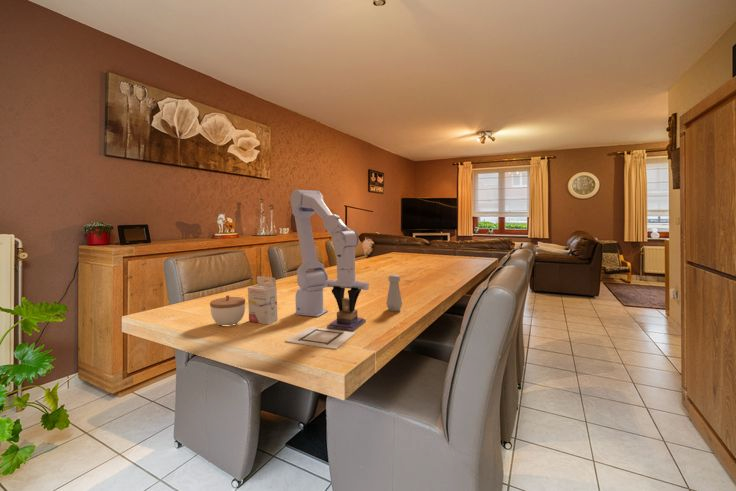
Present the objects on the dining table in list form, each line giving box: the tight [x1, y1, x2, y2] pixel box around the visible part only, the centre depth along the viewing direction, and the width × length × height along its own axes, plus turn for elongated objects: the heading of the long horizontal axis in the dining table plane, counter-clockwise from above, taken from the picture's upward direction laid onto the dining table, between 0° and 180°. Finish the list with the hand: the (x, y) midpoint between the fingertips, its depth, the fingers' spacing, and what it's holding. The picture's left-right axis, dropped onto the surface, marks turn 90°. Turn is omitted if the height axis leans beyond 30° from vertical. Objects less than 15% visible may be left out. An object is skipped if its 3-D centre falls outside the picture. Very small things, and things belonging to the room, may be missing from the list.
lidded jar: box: [209, 295, 246, 326], centre depth 115 cm, size 11×11×9 cm
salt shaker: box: [386, 274, 403, 312], centre depth 129 cm, size 6×6×13 cm
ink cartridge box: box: [247, 276, 278, 326], centre depth 117 cm, size 9×5×15 cm, turn 65°
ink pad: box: [326, 317, 367, 332], centre depth 113 cm, size 9×10×1 cm
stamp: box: [336, 297, 359, 323], centre depth 112 cm, size 5×5×7 cm
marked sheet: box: [284, 326, 357, 350], centre depth 101 cm, size 16×13×1 cm
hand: (346, 310), depth 112 cm, fingers closed on stamp, 3 cm apart
